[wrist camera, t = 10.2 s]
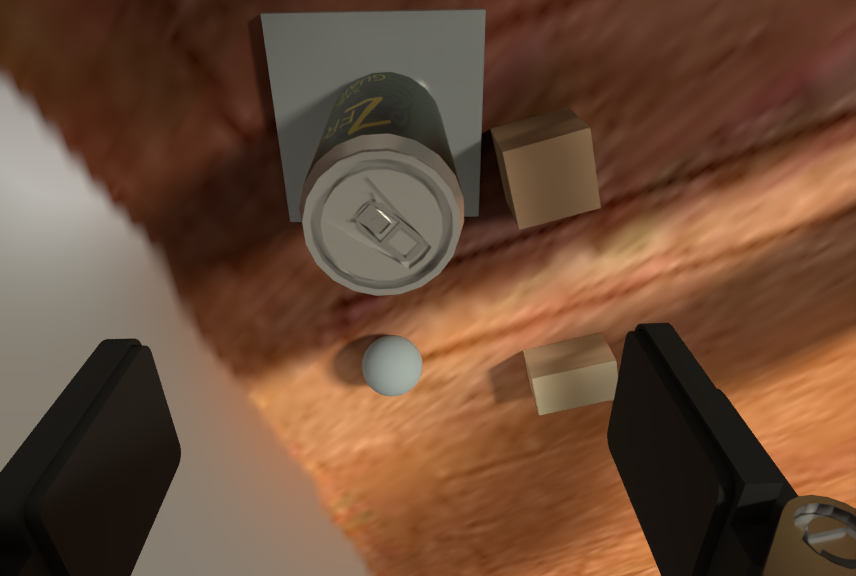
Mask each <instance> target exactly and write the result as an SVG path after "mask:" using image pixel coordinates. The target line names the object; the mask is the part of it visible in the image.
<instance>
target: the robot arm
mask: <svg viewBox="0 0 856 576" xmlns="http://www.w3.org/2000/svg"><path fill="white" fill-rule="evenodd" d="M607 439H608V446H609V449H610V452H611V455H612V457H613V459H614V462H615V464H616V467H617V469H618V472H619V474H620V476H621V479H622V481H623V484H624V486H625V489H626V491H627V493H628V496H629V498H630V501H631V503H632V506H633V508H634V510H635V513H636V515H637V518H638V520H639V523H640V525H641V527H642V530H643V532H644V535H645V537H646V540H647V542H648V544H649V547H650V549H651V552H652V554H653V557H654V559H655V561H656V564H657V566H658V569H659V571H660V574H661V576H856V509H855V508H853V507H851V506H849V505H848V504H846V503H843V502H840V501H837V500H834V499H831V498H828V497H823V496H815V495H807V496H798V495H797V494H796V492H795V491H794V489H793V488H792V487H791V485H790V484H789V482H788V481H787V480H786V478H785V477H784V476H783V474H782V473H781V471H780V470H779V469H778V467H777V466H776V464H775V463H774V462H773V460H772V459H771V458H770V456H769V455H768V453H767V452H766V451H765V449H764V448H763V446H762V445H761V444H760V442H759V441H758V440H757V438H756V437H755V435H754V434H753V433H752V431H751V430H750V428H749V427H748V426H747V424H746V423H745V422H744V420H743V419H742V417H741V416H740V415H739V413H738V412H737V410H736V409H735V408H734V406H733V405H732V404H731V402H730V401H729V399H728V398H727V397H726V395H725V394H724V393H723V392H722V391H721V390H719V389H717V388H716V387H715V386H714V384H713V383H712V381H711V380H710V379H709V377H708V376H707V374H706V373H705V372H704V370H703V369H702V367H701V366H700V365H699V363H698V362H697V360H696V359H695V358H694V356H693V355H692V353H691V352H690V351H689V349H688V348H687V346H686V345H685V344H684V342H683V341H682V339H681V338H680V337H679V335H678V334H677V332H676V331H675V330H674V328H673V327H672V326H671V325H670V324H669V323H649V324H639V325H637V327H636V328H635V331H630V332H628V333H627V335H626V339H625V344H624V349H623V355H622V360H621V365H620V370H619V375H618V380H617V385H616V391H615V396H614V401H613V406H612V411H611V416H610V421H609V427H608V433H607ZM180 458H181V448H180V443H179V440H178V437H177V434H176V431H175V427H174V424H173V421H172V417H171V414H170V411H169V408H168V404H167V401H166V398H165V395H164V391H163V389H162V385H161V382H160V379H159V375H158V372H157V369H156V366H155V363H154V359H153V356H152V352H151V350H150V348H149V347H148V346H142V345H141V343H140V341H139V340H137V339H106V340H104V341H102V342H101V343H100V344H99V345H98V347H97V348H96V349H95V351H94V352H93V353H92V354H91V356H90V357H89V358H88V359H87V361H86V362H85V364H84V365H83V366H82V367H81V369H80V370H79V371H78V373H77V374H76V375H75V376H74V378H73V379H72V380H71V382H70V383H69V384H68V385H67V387H66V388H65V389H64V391H63V392H62V393H61V395H60V396H59V397H58V398H57V400H56V401H55V403H54V404H53V405H52V406H51V407H50V409H49V410H48V411H47V413H46V414H45V415H44V417H43V418H42V419H41V420H40V422H39V423H38V424H37V426H36V427H35V428H34V429H33V431H32V432H31V433H30V435H29V436H28V437H27V439H26V440H25V441H24V442H23V444H22V445H21V446H20V448H19V449H18V450H17V452H16V453H15V454H14V455H13V457H12V458H11V459H10V461H9V462H8V463H7V465H6V466H5V467H4V468H3V470H2V471H1V472H0V576H131V573H132V571H133V569H134V566H135V564H136V562H137V560H138V557H139V555H140V553H141V550H142V548H143V546H144V544H145V541H146V539H147V537H148V534H149V532H150V530H151V528H152V525H153V523H154V521H155V518H156V516H157V514H158V512H159V509H160V507H161V505H162V502H163V500H164V498H165V496H166V493H167V491H168V489H169V486H170V484H171V482H172V480H173V477H174V475H175V473H176V470H177V468H178V466H179V463H180Z"/></svg>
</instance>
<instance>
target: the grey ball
mask: <svg viewBox="0 0 856 576" xmlns="http://www.w3.org/2000/svg"><path fill="white" fill-rule="evenodd" d="M362 372H363V376H364V379H365V380H366V382H367V384H368V385H369V386H370V387H371V388H372V389H373V390H374V391H376V392H377V393H379V394H382V395H385V396H399V395H402V394H405V393H406V392H408V391H410V390H411V389H412V388H413V387H414V386H415V385H416V384H417V382H418V381H419V379H420V376H421V373H422V358H421V355H420V353H419V350H418V349H417V347H416V346H415V345H414V344H413V343H412V342H411V341H409V340H408V339H406V338H404V337H401V336H396V335H389V336H384V337H381V338H379V339H377V340H375V341H374V342H373V343H372V344H371V345H370V346H369V347H368V348H367V350H366V351H365V353H364V356H363V360H362Z"/></svg>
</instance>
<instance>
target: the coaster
mask: <svg viewBox="0 0 856 576" xmlns="http://www.w3.org/2000/svg"><path fill="white" fill-rule="evenodd" d="M485 14H486V10H485V9H484V8H470V9H414V10H358V11H303V12H263V13H261V21H262V28H263V35H264V42H265V49H266V56H267V63H268V70H269V77H270V84H271V91H272V98H273V105H274V112H275V119H276V126H277V133H278V140H279V147H280V154H281V161H282V168H283V175H284V182H285V189H286V196H287V203H288V210H289V217H290V222H301V216H300V210H299V207H300V201H301V196H302V190H303V185H304V182H305V179H306V176H307V174H308V171H309V169H310V166H311V164H312V161H313V158H314V156H315V153H316V151H317V148H318V146H319V143H320V140H321V138H322V135H323V133H324V130H325V128H326V125H327V122H328V120H329V117H330V115H331V112H332V110H333V107H334V105H335V104H336V102H337V100H338V98H339V97H340V95H341V93H342V92H343V91H344V90H345V89H346V88H347V87H348V86H349V85H351V84H352V83H353V82H354V81H355V80H357V79H359V78H361V77H364V76H366V75H369V74H371V73H379V72H394V73H397V74H401V75H404V76H408V77H410V78H412V79H413V80H415V81H416V82H418V83H419V84H421V85H422V86H423V87H425V88H426V90H427V91H428V92H429V94H430V95H431V96H432V97H433V99H434V100H435V101H436V104H437V106H438V109H439V112H440V115H441V118H442V121H443V125H444V128H445V132H446V136H447V139H448V143H449V146H450V150H451V154H452V157H453V161H454V165H455V168H456V172H457V176H458V179H459V183H460V187H461V190H462V194H463V198H464V217H473V216H479V190H480V161H481V131H482V102H483V73H484V43H485Z"/></svg>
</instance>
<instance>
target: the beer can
mask: <svg viewBox="0 0 856 576" xmlns="http://www.w3.org/2000/svg"><path fill="white" fill-rule="evenodd" d="M299 210H300V216H301V222H302V228H303V232H304V235H305V241H306V245H307V247H308V249H309V251H310V252H311V254H312V256H313V258H314V260H315V262H316V264H317V265H318V266H319V267H320V268H321V269H322V270H323V271H325V272H326V273H327V274H328V275H329V276H330V277H331V278H332V279H333V280H334V281H336V282H338V283H340V284H342V285H344V286H346V287H348V288H350V289H351V290H353V291H357V292H362V293H367V294H372V295H376V296H377V295H394V294H402V293H404V292H407V291H410V290H413V289H416V288H419V287H422V286H423V285H424V284H426V283H427V282H429V281H430V280H431V279H433V278H434V277H436V276H437V275H438V274H440V272H441V271H442V270H443V268H444V267H445V266H446V264H447V263H448V262H449V260H450V259H451V258H452V257H453V254H454V251H455V248H456V245H457V242H458V239H459V236H460V233H461V230H462V227H463V224H464V198H463V194H462V190H461V187H460V183H459V179H458V176H457V172H456V168H455V165H454V161H453V157H452V154H451V150H450V146H449V143H448V139H447V136H446V132H445V128H444V125H443V121H442V118H441V115H440V112H439V109H438V106H437V104H436V101H435V100H434V99H433V97H432V96H431V95H430V94H429V92H428V91H427V90H426V88H425V87H423V86H422V85H421V84H419V83H418V82H416V81H415V80H413V79H412V78H410V77H408V76H404V75H401V74H397V73H394V72H379V73H371V74H369V75H366V76H364V77H361V78H359V79H357V80H355V81H354V82H353V83H352V84H351V85H349V86H348V87H347V88H346V89H345V90H344V91H343V92H342V93H341V95H340V97H339V98H338V100H337V102H336V104H335V105H334V107H333V110H332V112H331V115H330V117H329V120H328V122H327V125H326V128H325V130H324V133H323V135H322V138H321V140H320V143H319V146H318V148H317V151H316V153H315V156H314V158H313V161H312V164H311V166H310V169H309V171H308V174H307V176H306V179H305V182H304V185H303V190H302V196H301V201H300V207H299Z"/></svg>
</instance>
